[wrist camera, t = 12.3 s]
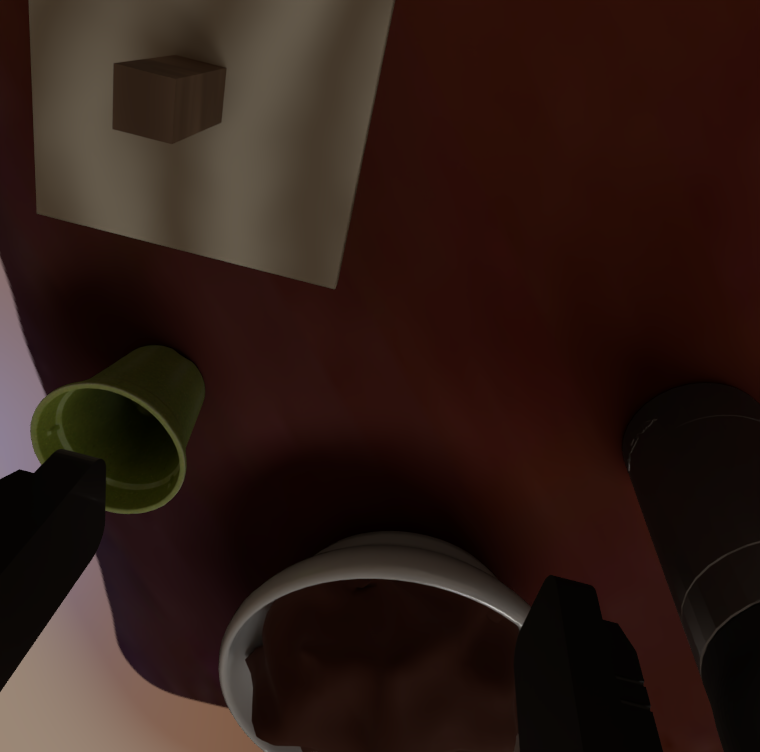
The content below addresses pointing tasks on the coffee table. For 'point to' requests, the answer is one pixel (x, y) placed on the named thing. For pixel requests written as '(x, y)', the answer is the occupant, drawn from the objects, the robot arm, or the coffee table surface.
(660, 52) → the coffee table surface
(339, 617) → the white round tub
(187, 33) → the cover board
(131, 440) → the plant pot
